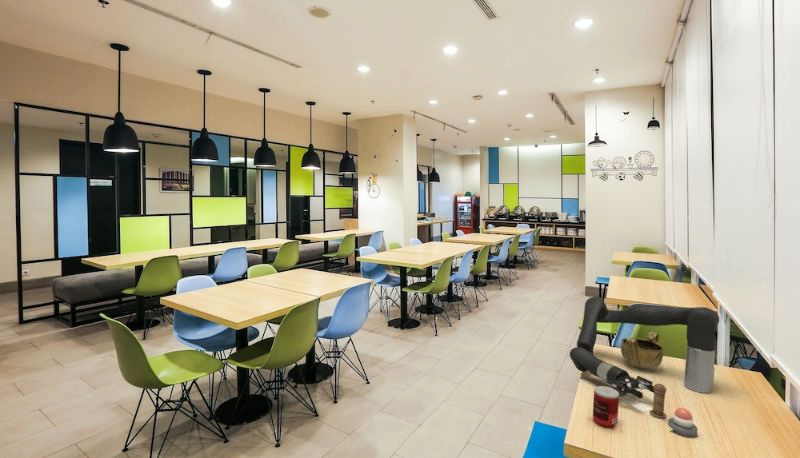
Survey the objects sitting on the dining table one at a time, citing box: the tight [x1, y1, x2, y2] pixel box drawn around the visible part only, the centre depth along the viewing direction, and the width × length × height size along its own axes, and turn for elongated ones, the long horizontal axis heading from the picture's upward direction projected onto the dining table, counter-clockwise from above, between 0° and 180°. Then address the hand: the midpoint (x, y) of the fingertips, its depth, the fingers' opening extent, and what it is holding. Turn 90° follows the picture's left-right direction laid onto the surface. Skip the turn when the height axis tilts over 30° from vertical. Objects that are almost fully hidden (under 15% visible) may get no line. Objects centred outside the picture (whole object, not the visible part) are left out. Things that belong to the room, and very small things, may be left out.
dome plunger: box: [673, 407, 694, 428], centre depth 134 cm, size 5×5×5 cm
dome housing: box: [667, 417, 698, 439], centre depth 134 cm, size 8×8×2 cm
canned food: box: [592, 385, 620, 429], centre depth 138 cm, size 8×8×11 cm
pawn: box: [649, 383, 667, 420], centre depth 141 cm, size 5×5×12 cm
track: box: [619, 394, 671, 422], centre depth 147 cm, size 8×18×1 cm, turn 20°
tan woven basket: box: [620, 331, 664, 371], centre depth 185 cm, size 22×17×15 cm
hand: (650, 394), depth 144 cm, fingers open, 8 cm apart
